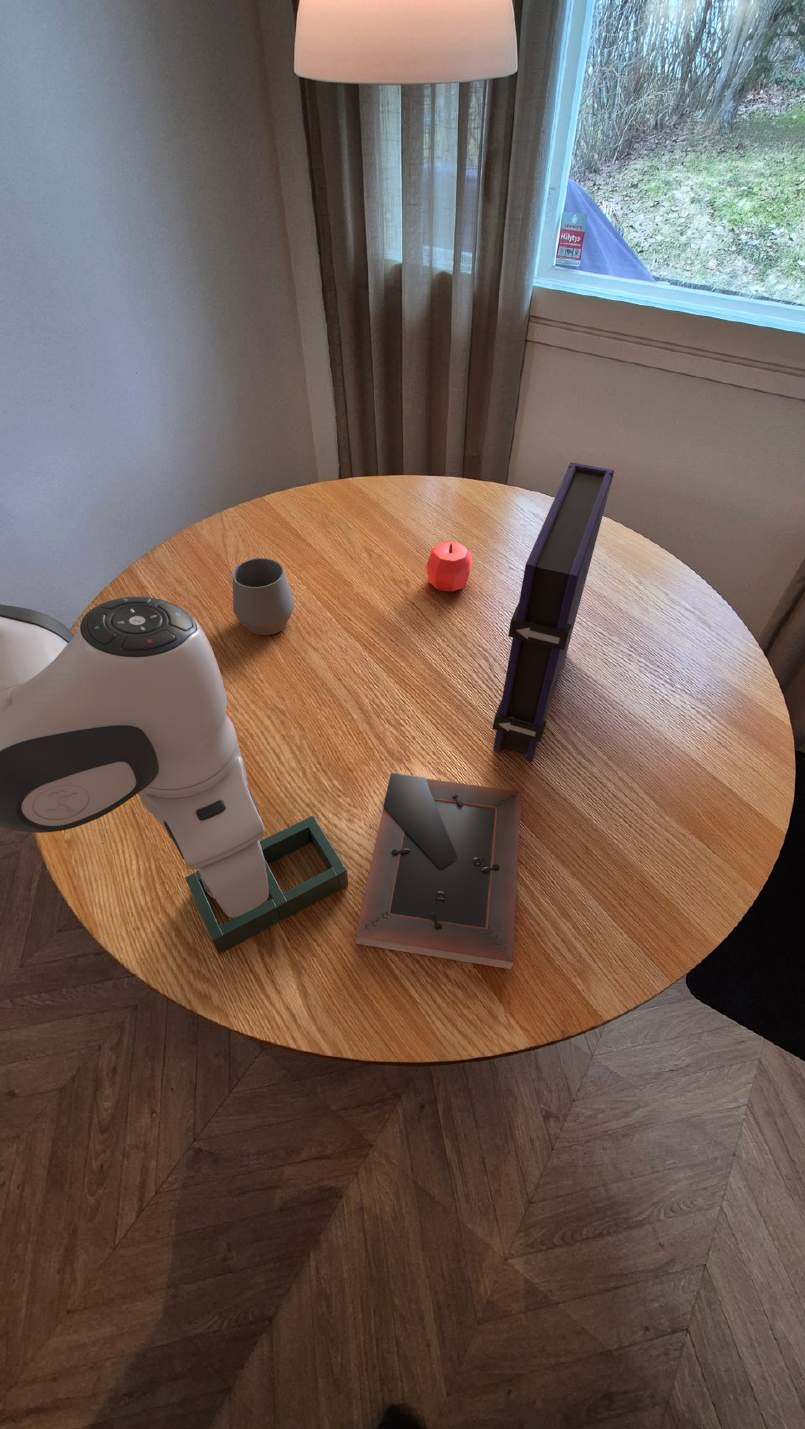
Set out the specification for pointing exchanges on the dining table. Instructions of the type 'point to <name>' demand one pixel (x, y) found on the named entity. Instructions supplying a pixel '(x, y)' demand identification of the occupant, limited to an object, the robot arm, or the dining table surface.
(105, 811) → the robot arm
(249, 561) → the cup
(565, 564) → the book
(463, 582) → the apple
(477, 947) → the picture frame
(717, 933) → the dining table surface
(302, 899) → the holder
